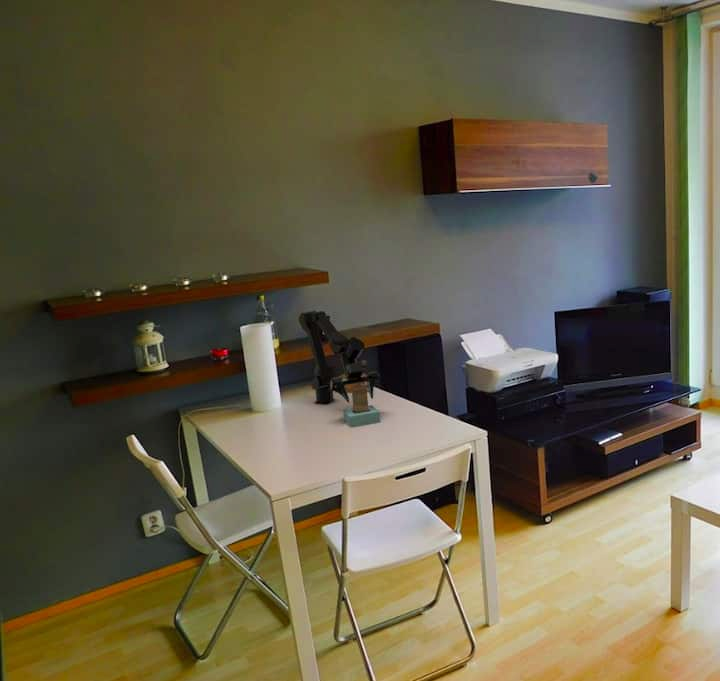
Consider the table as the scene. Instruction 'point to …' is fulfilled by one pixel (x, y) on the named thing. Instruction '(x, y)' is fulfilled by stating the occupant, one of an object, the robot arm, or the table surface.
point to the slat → (360, 399)
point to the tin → (350, 386)
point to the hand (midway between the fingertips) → (360, 400)
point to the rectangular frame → (361, 417)
